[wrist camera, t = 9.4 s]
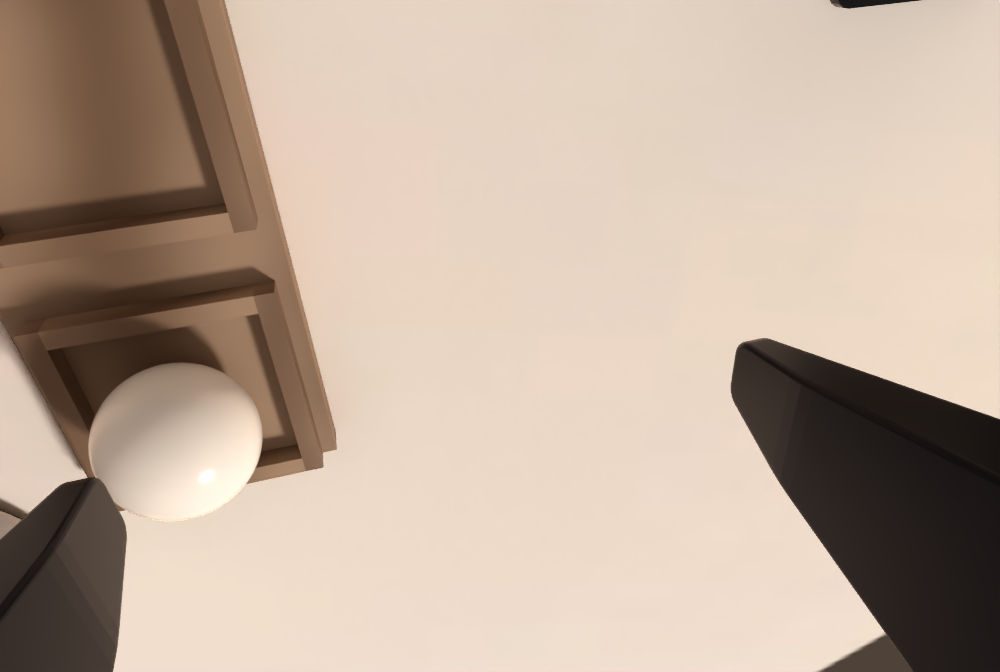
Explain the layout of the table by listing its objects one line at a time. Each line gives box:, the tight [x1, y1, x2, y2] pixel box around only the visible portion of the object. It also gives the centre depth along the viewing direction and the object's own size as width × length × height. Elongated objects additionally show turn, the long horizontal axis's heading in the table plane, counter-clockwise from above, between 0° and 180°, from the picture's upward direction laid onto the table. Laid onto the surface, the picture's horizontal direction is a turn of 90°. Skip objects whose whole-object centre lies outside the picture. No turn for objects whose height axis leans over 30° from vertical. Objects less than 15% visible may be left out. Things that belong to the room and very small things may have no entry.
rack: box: [0, 0, 337, 511], centre depth 19 cm, size 8×16×2 cm, turn 4°
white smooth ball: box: [88, 362, 263, 521], centre depth 20 cm, size 5×5×5 cm
